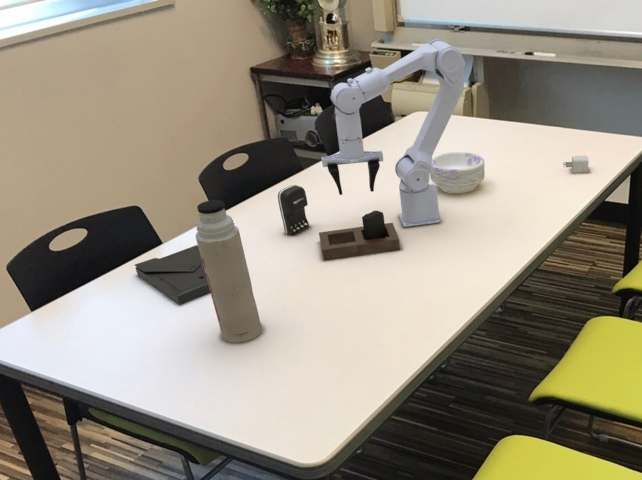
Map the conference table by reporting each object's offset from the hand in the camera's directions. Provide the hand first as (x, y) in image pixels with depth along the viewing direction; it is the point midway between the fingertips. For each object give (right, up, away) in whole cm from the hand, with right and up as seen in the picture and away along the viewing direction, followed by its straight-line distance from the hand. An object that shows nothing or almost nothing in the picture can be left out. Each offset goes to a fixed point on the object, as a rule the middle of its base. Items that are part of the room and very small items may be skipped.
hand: (356, 191), depth 196 cm
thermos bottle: (-18, -37, -33) cm, 52 cm away
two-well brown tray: (+1, -14, -1) cm, 14 cm away
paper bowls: (+24, +7, +27) cm, 37 cm away
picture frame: (-37, -23, -12) cm, 45 cm away
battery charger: (-16, -8, +7) cm, 19 cm away
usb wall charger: (+58, +14, +34) cm, 69 cm away
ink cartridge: (+5, -13, -1) cm, 14 cm away
